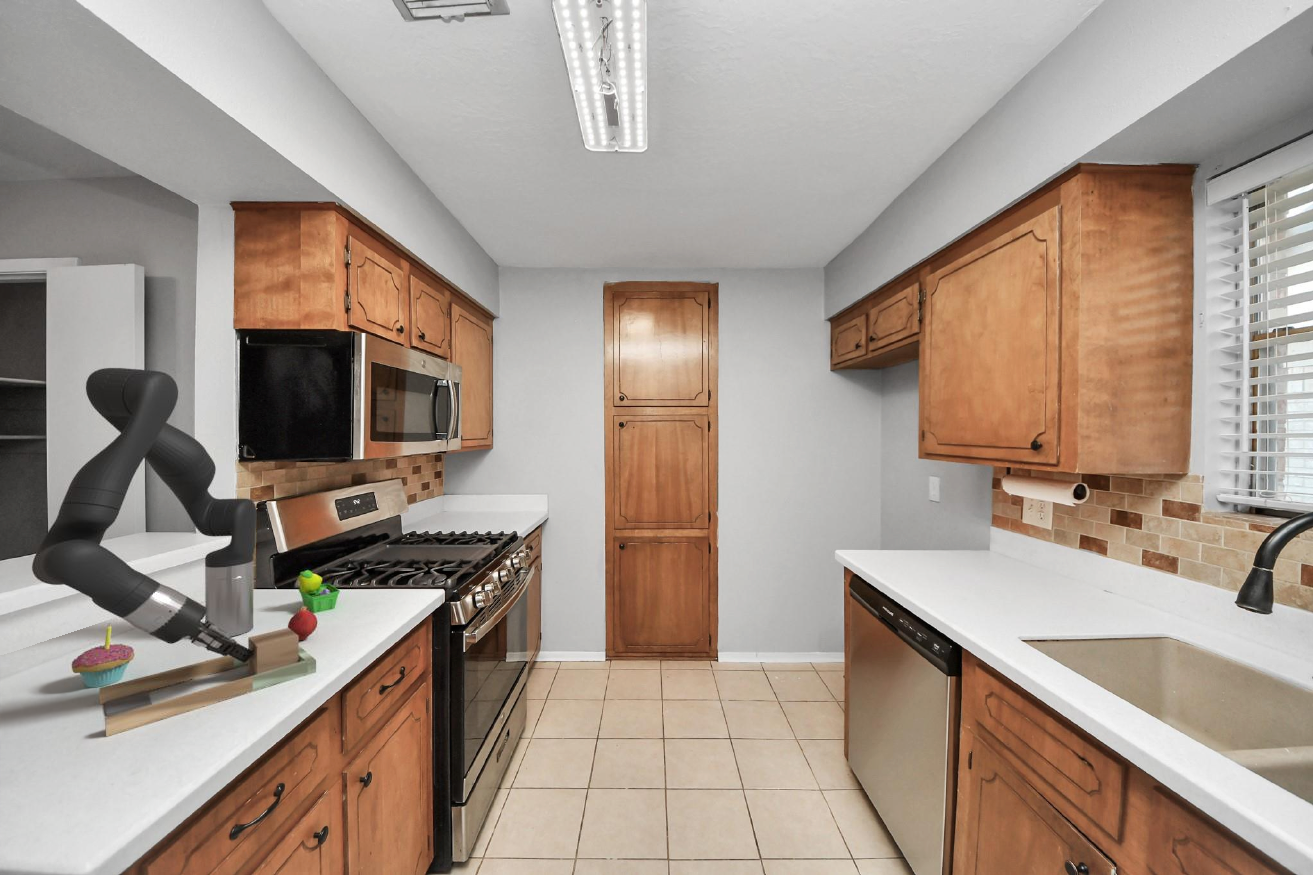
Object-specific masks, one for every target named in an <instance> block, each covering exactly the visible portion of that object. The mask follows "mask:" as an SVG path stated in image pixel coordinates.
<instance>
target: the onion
mask: <svg viewBox="0 0 1313 875" xmlns="http://www.w3.org/2000/svg"><path fill="white" fill-rule="evenodd" d="M317 627H318V618H317V617H316V615H315V613H313V612H312V611H310V610H309V609H308V608H307V607H305V606H304V605H303V606H302V607H301V608H300V609H299V610H298V611H297V612H295V614H294V615H293V616H291V618H290V620H289V621H288V624H287V628H289V629H291V630H292V631H293V632H294V633H296V634H297V635H298V636H299V641H305V640H306V639H308V638H309V636H310V635H312V634H313V633H314V632H315V631H316V629H317Z"/></svg>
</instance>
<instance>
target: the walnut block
mask: <svg viewBox="0 0 1313 875" xmlns="http://www.w3.org/2000/svg"><path fill="white" fill-rule="evenodd" d="M299 641H300V640H299V636H298V635H297V634H296V633H294V632H293V631H292V630H291V629H289V628H288V627H287V628H286V627H285V628H282V629H278V630H273V631H270V632H266V633H261V634H257V635H253V636H249V637H248V642H247V643H248V645H247V646H248V649H249V650H251V651H252V652H253V655H252V656H251V657H250V658H249V659H248V664H247V665H248V666H247V667H248V670H249V671H248V670H247V671H248V672H249V674H250V675H251V676H252V675H256V674H260V673H263V672H267V671H270V670H274V669H277V668H281V667H284V666H288V665H291V664H295V663H298V662H299V646H300V645H299V644H300V643H299Z"/></svg>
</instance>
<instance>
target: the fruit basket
mask: <svg viewBox="0 0 1313 875" xmlns="http://www.w3.org/2000/svg"><path fill="white" fill-rule="evenodd" d="M299 574H300V575H299V576H298V577H297V582H298V587H299V589H298V591H299V593H300V596H301V599H302V603H303V607H304V606H305V607H307V610H308V611H310V612H312V613H313V614H315V613H320V612H327V611H328V610H329V611H330V610H334V609H335V607H336V604H337V600H338V598H339V595H340V593H341V592H340V591H341V590H340V589H338V588H337V587H335V586H334V585H332V584H330V583H322V582H323V578H322V577H321V576H320V575H318V574H316V573H313V572H312V571H311V570H309V569H307V570H304V571H301V572H299Z"/></svg>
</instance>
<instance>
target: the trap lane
mask: <svg viewBox="0 0 1313 875" xmlns="http://www.w3.org/2000/svg"><path fill="white" fill-rule="evenodd" d="M246 665H248V661H246V662H241V661H239V660H237V659H236V658H234V657H232V656H230V655H227V656H223V655H222V656H220V657H216V658H212V659H209V660H207V659H206V660H204V661H201V662H195V663H192V664H188V665H185V666H181V667H177V668H173V669H169V670H165V671H162V672H157V673H153V674H150V675H146V676H142V677H138V678H134V679H131V680H125V681H123V682H118V683H115V684H114V683H113V684H112V685H111V684H109V685H105V686H101V687H99V705H103V706H104V708H105V714H106V717H105V736H106V737H110V736H113V735H117V734H119V733H123V732H126V731H130V730H133V729H136V728H140V727H143V726H146V725H149V724H153V723H155V722H158V720H159V721H162V720H164V719H168V717H169V718H172V717H175V716H178V715H181V713H182V714H184V713H188V712H191V711H194V710H198V709H201V708H204V707H207V705H208V706H211V705H214V704H217V703H219V702H218V701H221V702H223V701H222V700H224V701H226V700H225V699H227V700H229V698H230V699H232V698H231V697H234V698H236V697H235V696H236V695H240V696H242V695H241V694H243V695H246V694H245V693H247V692H250V693H252V692H251V691H253V690H256V691H259V690H258V689H260V688H263V689H265V688H264V687H266V686H269V687H271V685H272V686H275V685H274V684H276V685H278V684H277V683H279V684H282V683H284V682H283V681H285V682H288V681H287V680H289V681H291V680H290V679H292V680H294V679H293V678H295V679H298V678H301V677H300V676H302V677H304V675H305V676H307V674H308V675H311V674H314V672H315V673H317V660H316V658H314V657H313V656H312V655H311V654H310V653H308V652H307V651H306V650H305V649H304V648H302V647H301V646H300V645H299V662H298V663H295V664H291V665H288V666H284V667H281V668H277V669H274V670H270V671H267V672H263V673H260V674H256V675H253V676H252V675H250V676H246V677H243V678H240V679H235V680H233V681H230V682H226V683H222V684H219V685H215V686H212V687H209V688H205V689H201V690H197V691H195V692H191V693H188V694H184V695H181V696H178V697H174V698H171V699H166V700H163V701H160V702H157V703H156V702H155V703H153V702H152V701H151V698H150V695H149V693H148V692H150V690H151V691H154V689H155V690H158V689H157V688H159V689H162V688H164V687H163V686H166V687H169V686H168V685H170V686H173V685H176V684H175V683H177V684H180V683H179V682H181V683H184V682H187V681H191V680H190V679H192V680H195V679H198V678H202V676H203V677H206V676H209V674H210V675H213V674H217V673H220V672H223V670H225V671H227V669H228V670H232V669H235V668H238V667H243V666H246ZM216 672H217V673H216ZM183 681H184V682H183ZM281 682H282V683H281ZM161 687H162V688H161ZM266 688H267V687H266ZM260 690H261V689H260ZM253 692H254V691H253ZM247 694H248V693H247ZM216 702H217V703H216ZM213 703H214V704H213ZM210 704H211V705H210ZM203 706H204V707H203ZM197 708H198V709H197ZM187 711H188V712H187ZM174 715H175V716H174ZM161 719H162V720H161Z"/></svg>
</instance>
